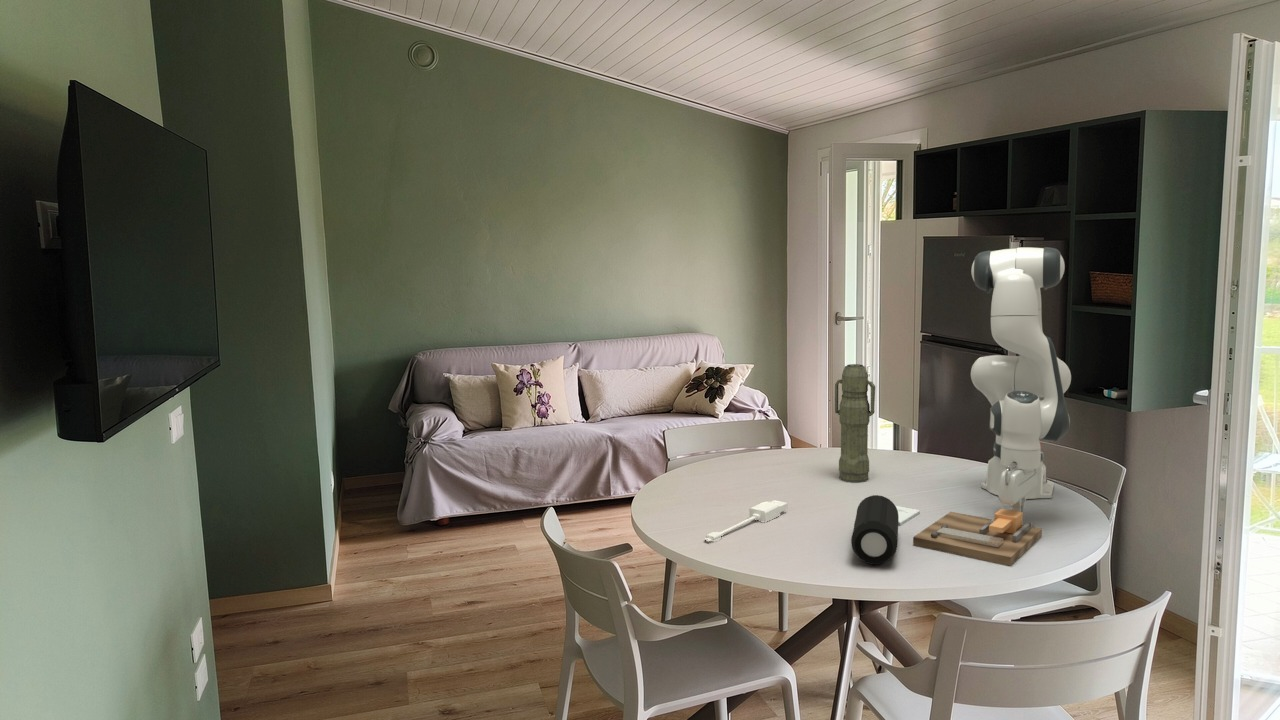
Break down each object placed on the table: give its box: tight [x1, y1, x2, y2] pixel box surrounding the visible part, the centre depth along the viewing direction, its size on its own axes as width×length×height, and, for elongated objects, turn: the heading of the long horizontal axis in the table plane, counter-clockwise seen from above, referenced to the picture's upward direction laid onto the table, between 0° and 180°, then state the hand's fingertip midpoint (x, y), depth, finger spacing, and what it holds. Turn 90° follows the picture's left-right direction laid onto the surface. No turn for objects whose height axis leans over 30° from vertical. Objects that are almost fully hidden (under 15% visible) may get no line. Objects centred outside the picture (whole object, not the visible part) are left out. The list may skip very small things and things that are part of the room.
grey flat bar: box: [937, 527, 1004, 547], centre depth 195 cm, size 4×14×1 cm, turn 50°
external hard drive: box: [895, 505, 920, 527], centre depth 219 cm, size 2×8×12 cm
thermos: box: [834, 363, 876, 484], centre depth 253 cm, size 9×12×35 cm
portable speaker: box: [850, 494, 899, 565], centre depth 195 cm, size 26×10×10 cm, turn 162°
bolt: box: [989, 508, 1024, 534], centre depth 198 cm, size 12×5×4 cm, turn 140°
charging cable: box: [704, 499, 789, 542], centre depth 214 cm, size 5×32×3 cm, turn 137°
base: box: [912, 511, 1043, 567], centre depth 199 cm, size 24×22×4 cm
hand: (1018, 513), depth 206 cm, fingers closed
